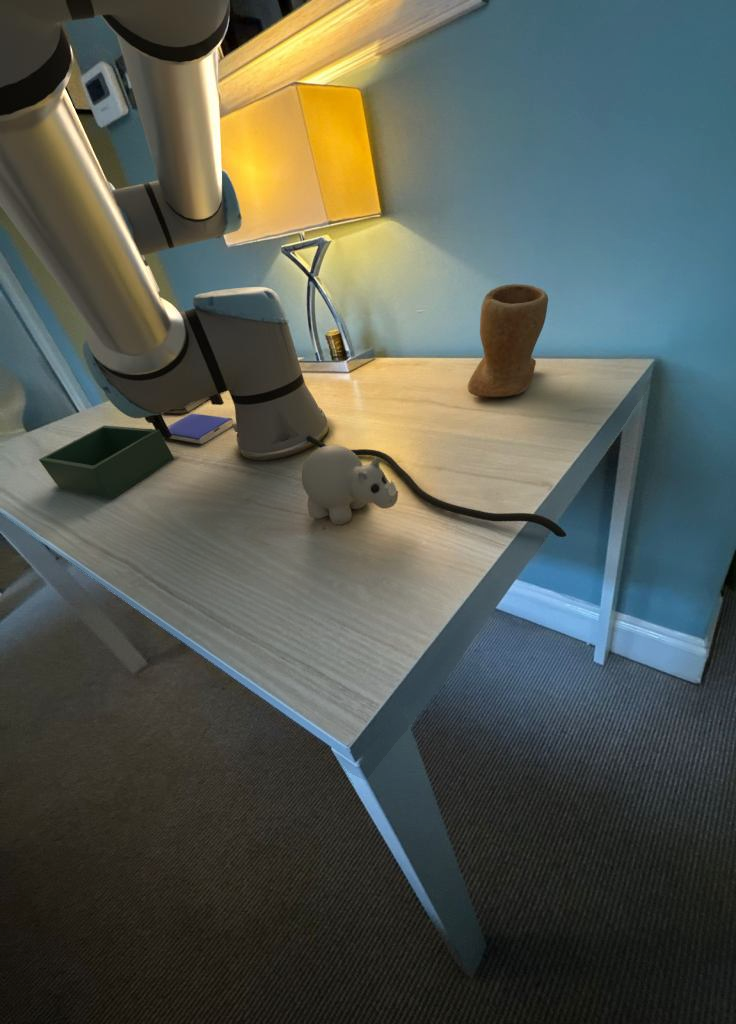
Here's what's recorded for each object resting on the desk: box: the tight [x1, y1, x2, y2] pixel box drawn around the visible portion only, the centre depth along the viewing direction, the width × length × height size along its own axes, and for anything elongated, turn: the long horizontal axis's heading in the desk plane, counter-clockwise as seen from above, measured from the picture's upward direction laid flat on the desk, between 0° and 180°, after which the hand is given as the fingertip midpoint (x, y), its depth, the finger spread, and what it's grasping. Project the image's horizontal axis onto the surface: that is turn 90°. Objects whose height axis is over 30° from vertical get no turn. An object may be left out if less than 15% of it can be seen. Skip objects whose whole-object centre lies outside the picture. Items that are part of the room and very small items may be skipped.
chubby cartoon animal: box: [301, 444, 399, 525], centre depth 49 cm, size 7×12×8 cm, turn 55°
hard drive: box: [167, 413, 235, 445], centre depth 85 cm, size 2×8×12 cm
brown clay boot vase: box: [467, 283, 549, 398], centre depth 69 cm, size 15×12×15 cm
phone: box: [163, 397, 210, 415], centre depth 102 cm, size 8×1×15 cm
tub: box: [38, 425, 175, 500], centre depth 75 cm, size 17×13×6 cm
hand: (193, 419), depth 84 cm, fingers open, 13 cm apart
